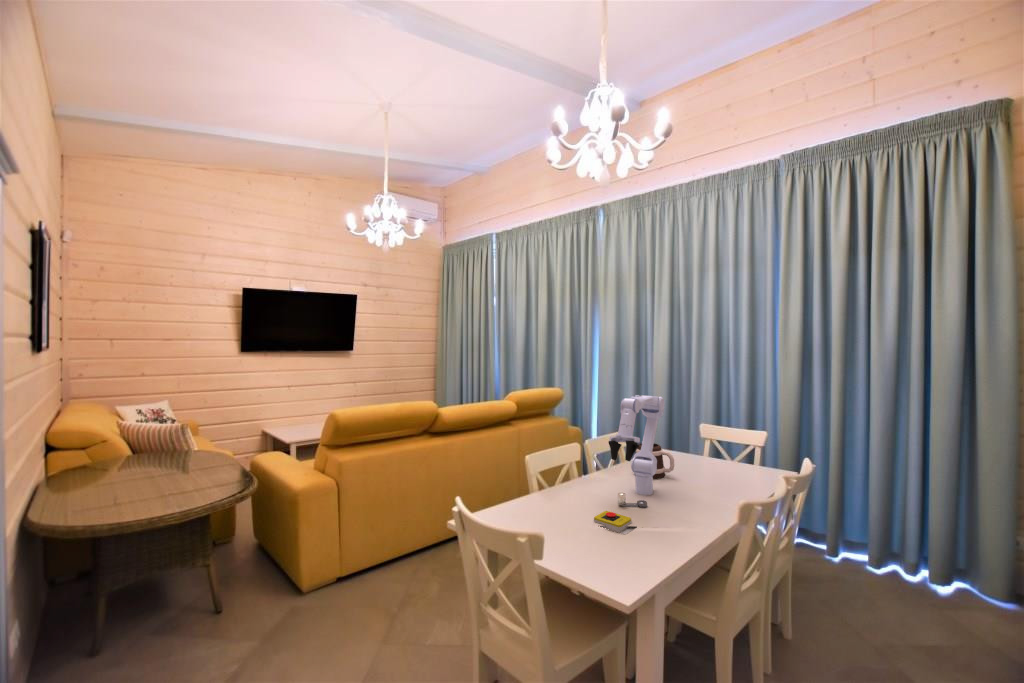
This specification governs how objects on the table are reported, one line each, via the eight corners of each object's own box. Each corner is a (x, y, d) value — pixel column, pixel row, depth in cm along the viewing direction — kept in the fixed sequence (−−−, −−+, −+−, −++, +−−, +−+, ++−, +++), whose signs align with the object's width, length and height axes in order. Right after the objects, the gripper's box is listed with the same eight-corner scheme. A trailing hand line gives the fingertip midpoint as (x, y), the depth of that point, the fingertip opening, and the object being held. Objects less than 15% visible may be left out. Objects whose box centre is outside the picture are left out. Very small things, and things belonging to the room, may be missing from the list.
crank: (646, 504, 188) (646, 492, 188) (648, 508, 184) (648, 496, 184) (617, 503, 189) (617, 492, 189) (618, 507, 185) (618, 495, 185)
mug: (629, 476, 229) (628, 445, 229) (640, 468, 241) (640, 440, 241) (669, 483, 217) (669, 451, 217) (679, 475, 229) (679, 445, 229)
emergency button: (602, 506, 179) (638, 516, 169) (602, 517, 179) (638, 528, 169) (589, 513, 172) (625, 524, 162) (589, 524, 173) (625, 536, 162)
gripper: (606, 424, 191) (600, 456, 186) (633, 423, 179) (627, 458, 174) (618, 429, 194) (612, 461, 189) (645, 429, 182) (640, 463, 177)
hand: (620, 460), depth 182 cm, fingers open, 7 cm apart
